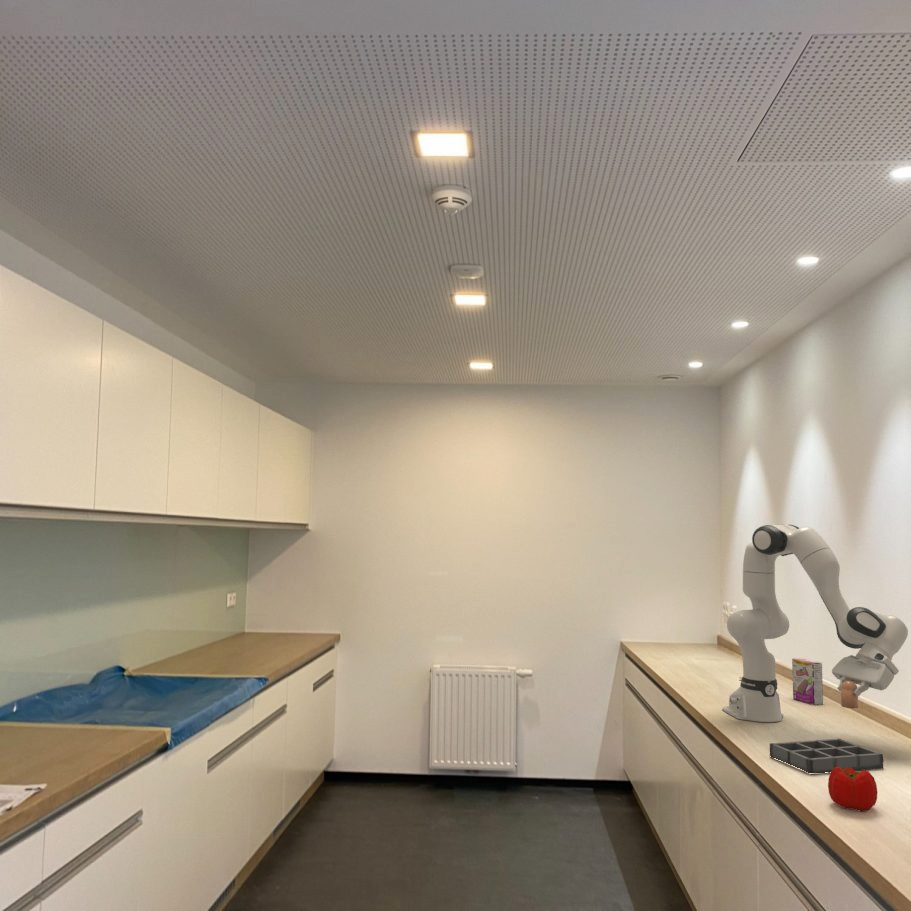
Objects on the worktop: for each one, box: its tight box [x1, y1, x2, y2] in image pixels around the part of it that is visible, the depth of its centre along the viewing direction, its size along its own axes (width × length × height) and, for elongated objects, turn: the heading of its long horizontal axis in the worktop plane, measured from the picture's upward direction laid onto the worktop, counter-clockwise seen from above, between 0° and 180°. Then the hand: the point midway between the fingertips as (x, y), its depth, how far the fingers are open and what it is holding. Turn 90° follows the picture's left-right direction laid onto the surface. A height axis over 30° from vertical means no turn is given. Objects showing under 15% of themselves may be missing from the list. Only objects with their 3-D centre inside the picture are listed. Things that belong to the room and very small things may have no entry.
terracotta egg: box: [840, 681, 859, 709], centre depth 249 cm, size 5×5×8 cm
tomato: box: [827, 767, 878, 812], centre depth 196 cm, size 11×12×9 cm
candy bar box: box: [791, 657, 824, 706], centre depth 315 cm, size 11×5×16 cm, turn 22°
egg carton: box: [769, 738, 884, 774], centre depth 233 cm, size 17×25×4 cm
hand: (847, 692), depth 249 cm, fingers closed on terracotta egg, 5 cm apart
